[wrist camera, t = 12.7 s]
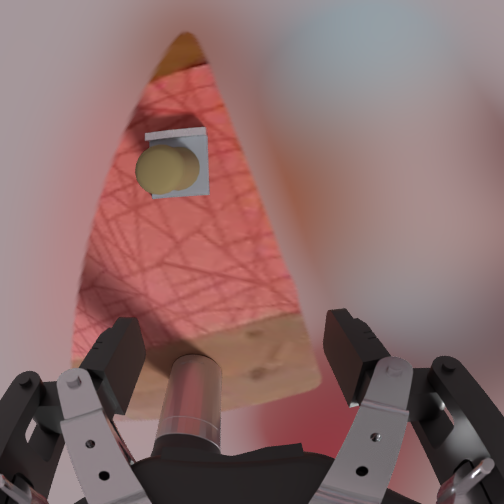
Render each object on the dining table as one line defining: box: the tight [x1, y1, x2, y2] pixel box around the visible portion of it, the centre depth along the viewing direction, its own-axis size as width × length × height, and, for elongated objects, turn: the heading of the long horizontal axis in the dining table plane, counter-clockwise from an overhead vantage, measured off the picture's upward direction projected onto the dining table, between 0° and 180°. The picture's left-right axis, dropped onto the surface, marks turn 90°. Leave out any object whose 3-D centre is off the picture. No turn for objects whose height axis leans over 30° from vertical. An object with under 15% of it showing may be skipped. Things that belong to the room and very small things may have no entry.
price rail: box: [145, 127, 208, 142], centre depth 33 cm, size 1×8×2 cm, turn 91°
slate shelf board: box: [149, 136, 210, 199], centre depth 35 cm, size 8×8×1 cm
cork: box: [135, 144, 200, 195], centre depth 29 cm, size 6×6×11 cm
